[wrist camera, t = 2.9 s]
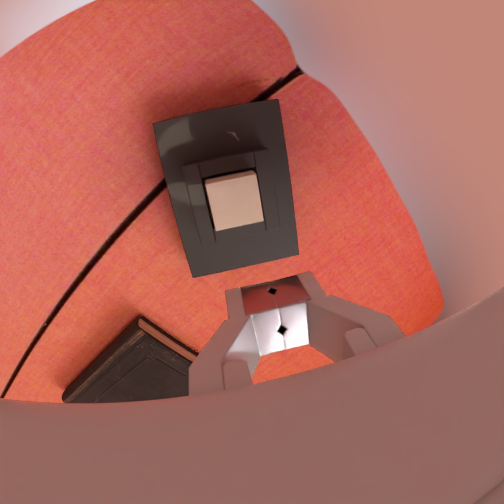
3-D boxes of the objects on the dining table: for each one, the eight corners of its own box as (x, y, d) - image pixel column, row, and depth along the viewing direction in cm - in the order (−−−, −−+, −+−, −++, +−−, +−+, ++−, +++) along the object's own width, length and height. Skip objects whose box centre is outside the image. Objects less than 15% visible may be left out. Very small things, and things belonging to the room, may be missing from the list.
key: (205, 179, 21) (205, 184, 19) (252, 169, 21) (256, 173, 20) (215, 223, 23) (215, 231, 21) (259, 213, 23) (263, 221, 21)
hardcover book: (238, 377, 36) (240, 390, 34) (143, 432, 40) (143, 442, 38) (139, 313, 29) (135, 326, 27) (63, 389, 33) (60, 400, 31)
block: (157, 123, 22) (148, 123, 18) (272, 100, 22) (284, 97, 19) (193, 266, 28) (192, 288, 24) (292, 244, 28) (305, 263, 25)
